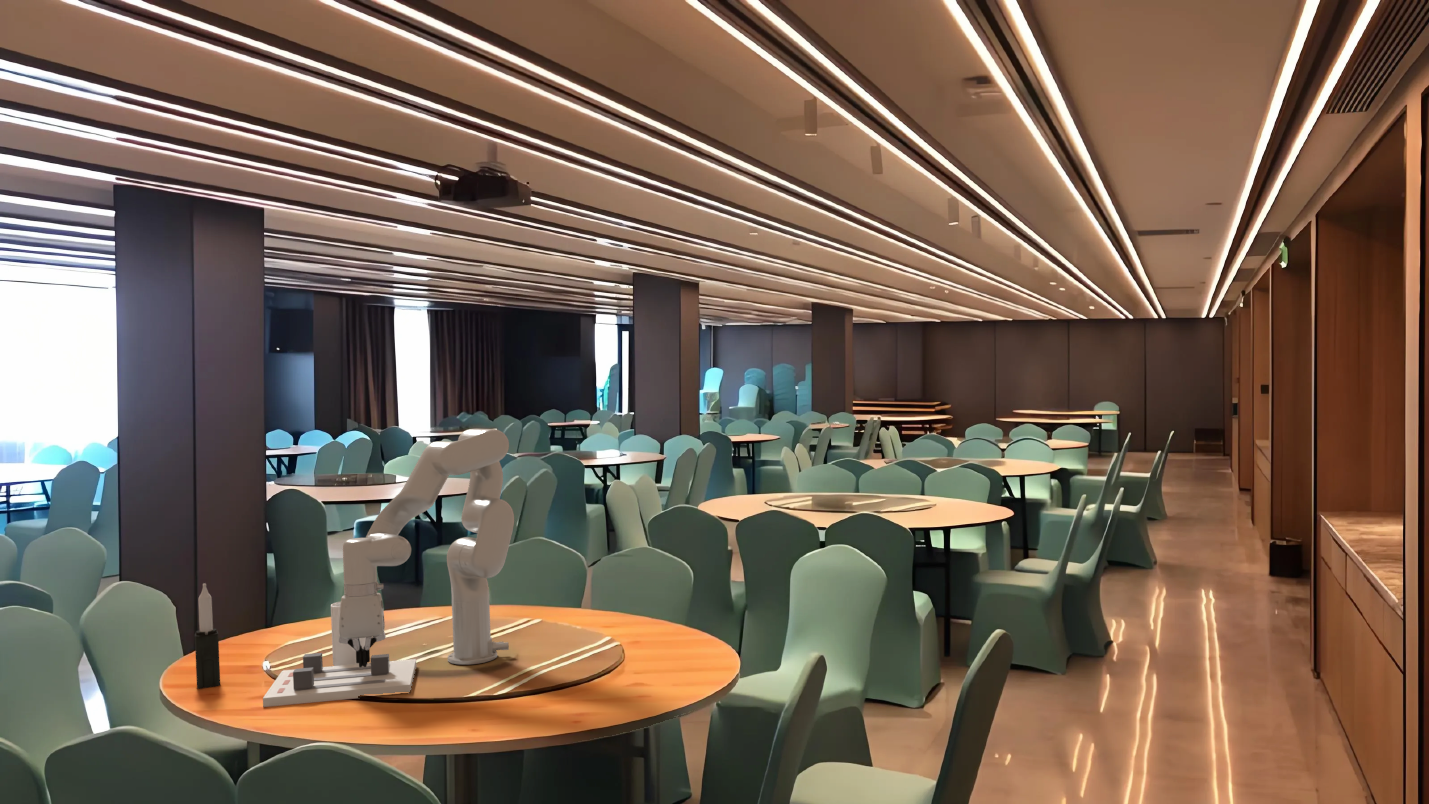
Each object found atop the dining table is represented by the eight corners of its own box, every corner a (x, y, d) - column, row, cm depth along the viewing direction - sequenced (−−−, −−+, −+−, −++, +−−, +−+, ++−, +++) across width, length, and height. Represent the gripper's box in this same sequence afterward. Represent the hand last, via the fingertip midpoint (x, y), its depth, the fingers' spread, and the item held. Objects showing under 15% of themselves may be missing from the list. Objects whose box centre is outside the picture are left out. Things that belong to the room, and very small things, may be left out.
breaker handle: (389, 670, 255) (389, 653, 255) (388, 673, 253) (387, 656, 252) (372, 671, 255) (371, 655, 255) (371, 674, 252) (370, 658, 252)
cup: (355, 669, 266) (353, 606, 266) (326, 668, 268) (324, 606, 268) (372, 661, 274) (370, 600, 274) (344, 660, 276) (341, 599, 276)
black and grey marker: (197, 689, 253) (192, 586, 252) (196, 684, 257) (192, 582, 257) (220, 685, 255) (216, 583, 255) (219, 681, 260) (215, 580, 259)
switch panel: (416, 666, 267) (415, 641, 267) (410, 693, 244) (409, 665, 243) (282, 678, 260) (281, 652, 260) (263, 706, 237) (262, 678, 236)
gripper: (394, 585, 258) (396, 659, 258) (330, 589, 254) (332, 664, 255) (391, 590, 250) (394, 667, 250) (325, 595, 247) (328, 672, 247)
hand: (363, 665), depth 253 cm, fingers closed
